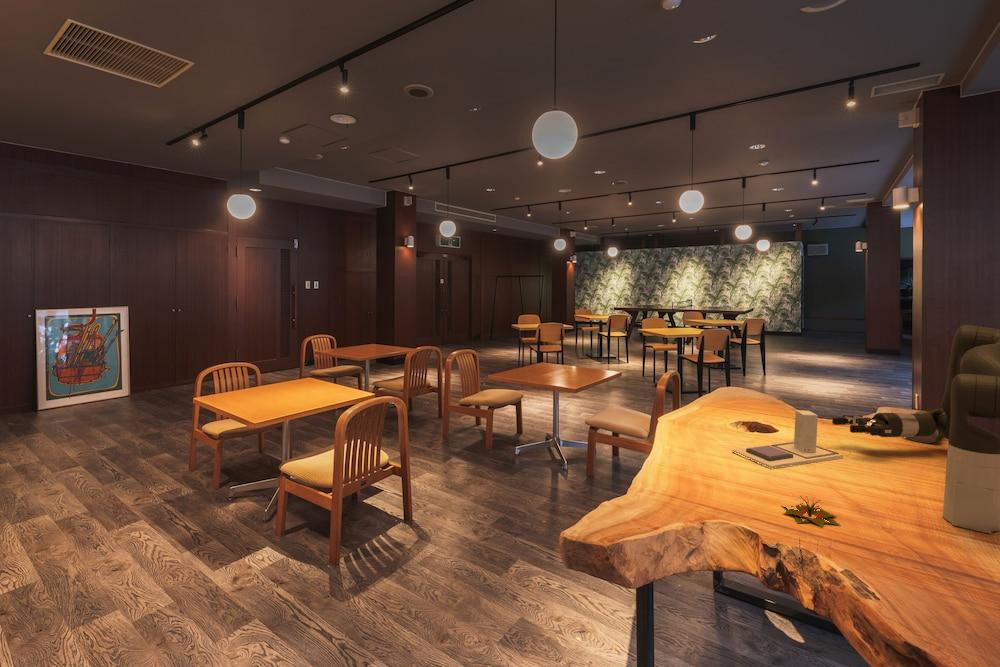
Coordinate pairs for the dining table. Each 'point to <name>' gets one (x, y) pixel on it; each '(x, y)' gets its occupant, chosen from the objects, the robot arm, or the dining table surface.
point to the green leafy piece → (810, 512)
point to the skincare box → (805, 431)
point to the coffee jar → (926, 439)
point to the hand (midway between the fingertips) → (841, 424)
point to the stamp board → (786, 454)
